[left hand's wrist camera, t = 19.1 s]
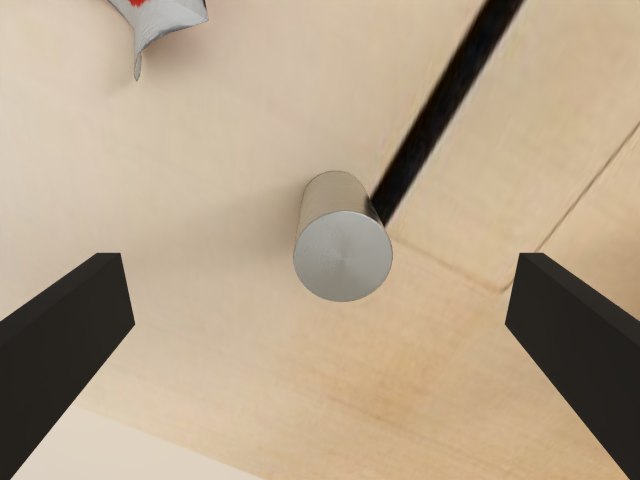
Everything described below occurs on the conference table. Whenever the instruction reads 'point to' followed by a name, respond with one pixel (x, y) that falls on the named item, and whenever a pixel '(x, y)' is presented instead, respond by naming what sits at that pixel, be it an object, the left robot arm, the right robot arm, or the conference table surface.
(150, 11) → the fish
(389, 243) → the canister
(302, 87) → the conference table surface
